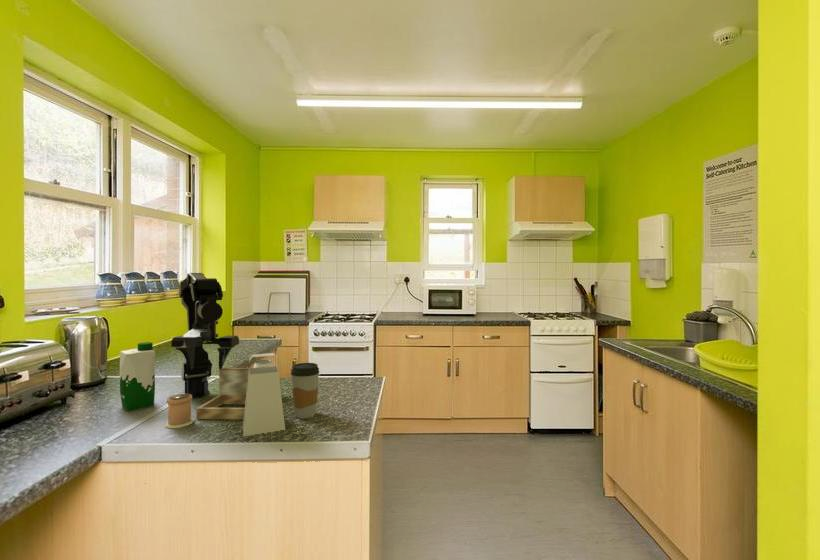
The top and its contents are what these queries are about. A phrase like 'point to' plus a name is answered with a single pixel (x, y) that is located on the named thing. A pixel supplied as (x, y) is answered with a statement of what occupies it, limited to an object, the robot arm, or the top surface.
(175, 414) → the pot
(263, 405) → the grater
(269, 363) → the can
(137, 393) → the milk carton
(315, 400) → the coffee cup
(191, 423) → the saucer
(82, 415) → the top surface
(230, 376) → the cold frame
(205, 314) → the robot arm
